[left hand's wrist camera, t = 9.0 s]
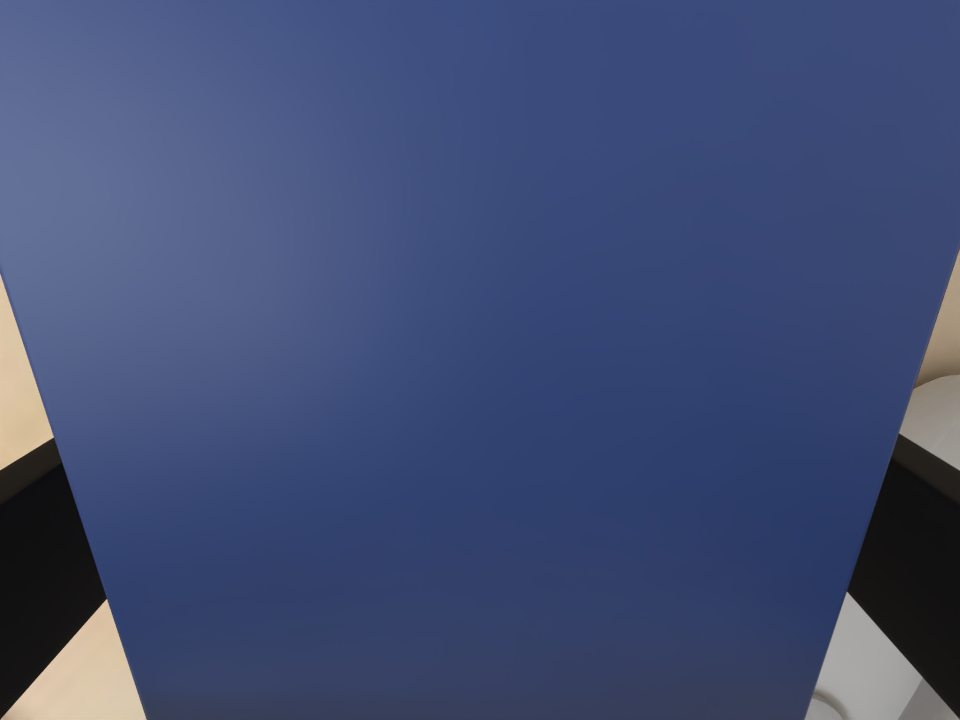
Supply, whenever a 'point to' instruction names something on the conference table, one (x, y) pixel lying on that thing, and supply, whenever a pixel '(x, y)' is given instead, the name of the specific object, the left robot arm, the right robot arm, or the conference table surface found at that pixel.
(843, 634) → the projector
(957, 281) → the conference table surface
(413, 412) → the box
